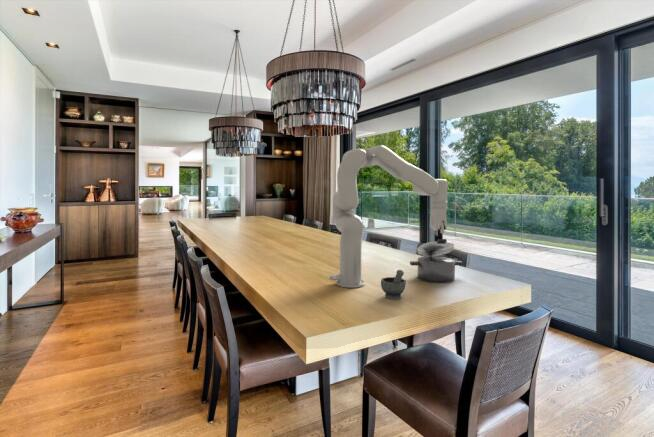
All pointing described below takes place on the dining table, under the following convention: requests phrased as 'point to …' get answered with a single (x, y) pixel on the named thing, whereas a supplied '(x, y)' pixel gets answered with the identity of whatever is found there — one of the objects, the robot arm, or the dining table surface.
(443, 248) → the pot lid
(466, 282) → the dining table surface
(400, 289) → the mortar and pestle
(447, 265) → the pot
